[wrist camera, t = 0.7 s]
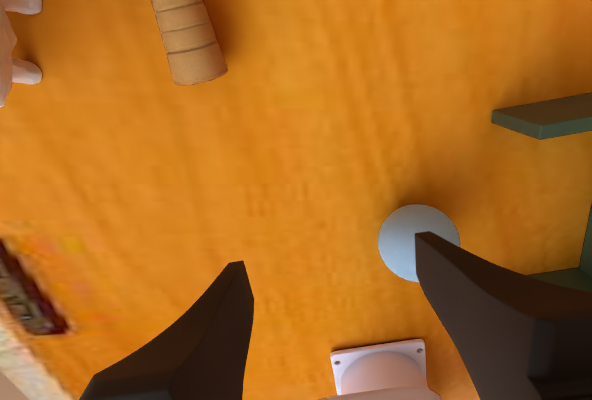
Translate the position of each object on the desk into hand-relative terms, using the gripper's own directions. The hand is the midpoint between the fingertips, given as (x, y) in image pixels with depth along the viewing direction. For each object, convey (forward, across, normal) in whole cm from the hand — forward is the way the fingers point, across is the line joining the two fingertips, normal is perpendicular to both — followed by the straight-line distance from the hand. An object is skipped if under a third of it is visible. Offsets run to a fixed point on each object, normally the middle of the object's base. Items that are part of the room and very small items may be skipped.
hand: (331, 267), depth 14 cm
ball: (+7, -6, +4) cm, 10 cm away
